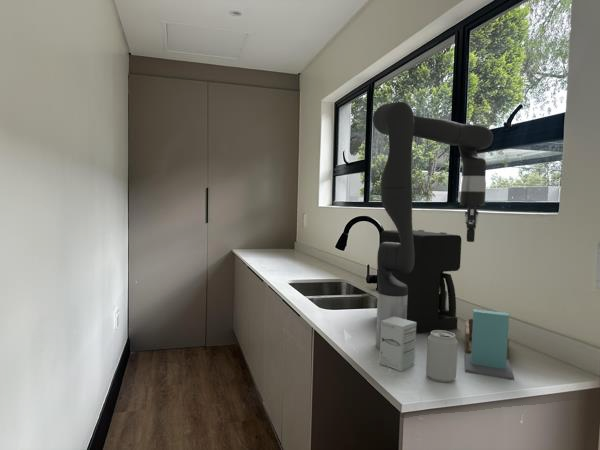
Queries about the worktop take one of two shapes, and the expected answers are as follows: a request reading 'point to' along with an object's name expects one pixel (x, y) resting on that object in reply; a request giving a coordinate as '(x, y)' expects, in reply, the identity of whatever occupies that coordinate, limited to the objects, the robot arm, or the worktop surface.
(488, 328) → the teal board
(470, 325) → the walnut rack
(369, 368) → the worktop surface
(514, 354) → the worktop surface
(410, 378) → the worktop surface
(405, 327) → the supplement box
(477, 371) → the charcoal mat
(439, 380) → the can
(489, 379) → the worktop surface
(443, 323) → the coffee maker
